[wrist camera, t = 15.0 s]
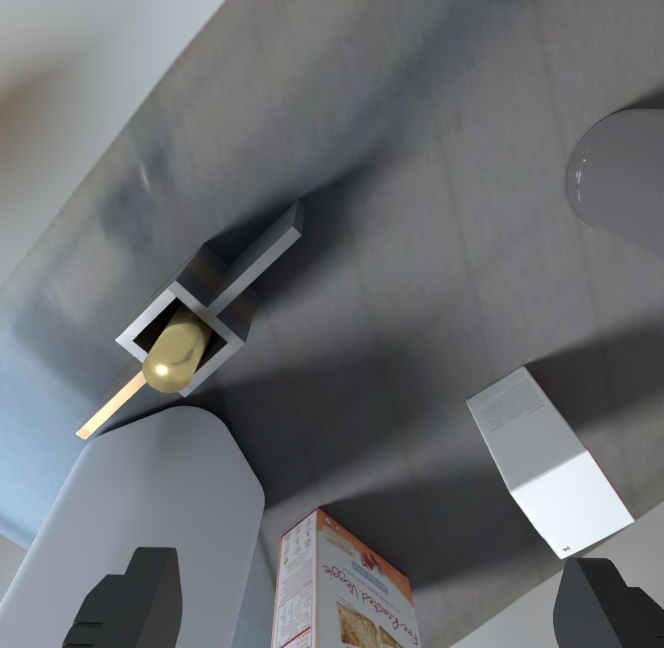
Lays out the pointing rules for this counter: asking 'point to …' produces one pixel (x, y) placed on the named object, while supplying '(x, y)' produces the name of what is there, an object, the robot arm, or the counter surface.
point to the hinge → (200, 310)
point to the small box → (547, 465)
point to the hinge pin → (177, 351)
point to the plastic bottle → (144, 528)
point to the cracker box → (339, 592)
